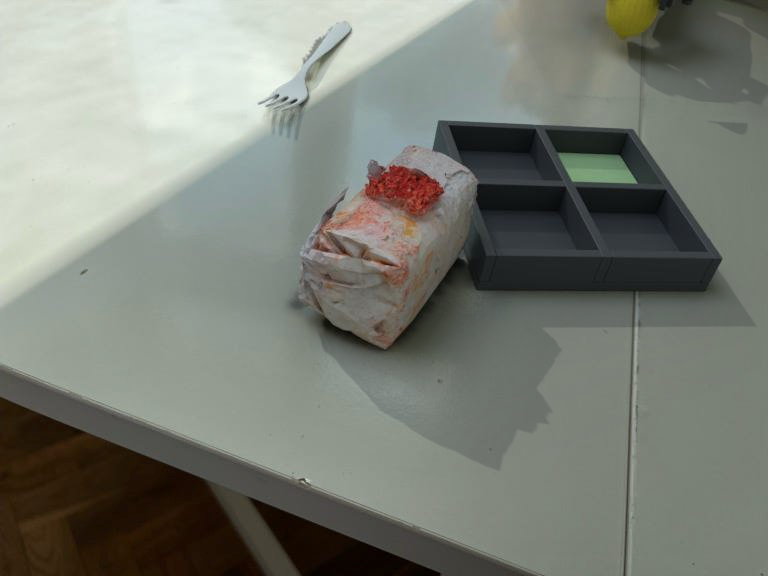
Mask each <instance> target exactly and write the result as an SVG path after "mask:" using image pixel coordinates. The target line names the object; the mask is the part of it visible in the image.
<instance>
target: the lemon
mask: <svg viewBox="0 0 768 576" xmlns="http://www.w3.org/2000/svg"><path fill="white" fill-rule="evenodd" d="M660 2H661V0H607V1H606V6H605V18H606V19H605V20H606V22H607V25H608V26H609V28H610V30H611V31H613V32H614V33H615V34H616V35H617V37H618V39H619V40H621V41H625V40H626V39H628V38H630V37H636V36H639V35H641V34H642V33H644V32H645V31H647V30H648V29H649V28H650V27H651V26H652V24H653V23H654V21H655V20H656V17H657V15H658V13H659V11H660V10H658V7H659V4H660Z"/></svg>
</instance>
